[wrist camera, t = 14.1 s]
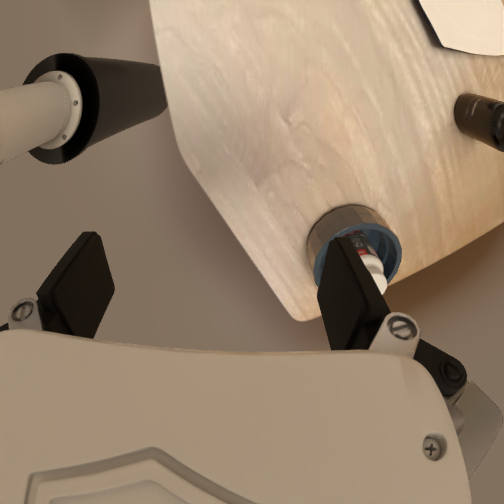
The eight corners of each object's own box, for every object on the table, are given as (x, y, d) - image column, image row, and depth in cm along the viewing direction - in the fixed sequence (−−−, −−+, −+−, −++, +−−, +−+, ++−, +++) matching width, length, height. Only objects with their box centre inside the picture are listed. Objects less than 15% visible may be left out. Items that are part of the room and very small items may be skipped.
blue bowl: (301, 275, 44) (306, 301, 39) (312, 200, 37) (322, 220, 32) (373, 276, 44) (386, 300, 39) (394, 206, 37) (412, 226, 32)
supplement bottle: (451, 90, 27) (510, 104, 17) (482, 95, 26) (537, 111, 16) (453, 135, 30) (508, 161, 20) (482, 136, 30) (534, 162, 20)
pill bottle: (348, 220, 38) (373, 261, 29) (373, 240, 39) (399, 283, 31) (322, 248, 40) (338, 294, 32) (347, 266, 42) (367, 312, 34)
